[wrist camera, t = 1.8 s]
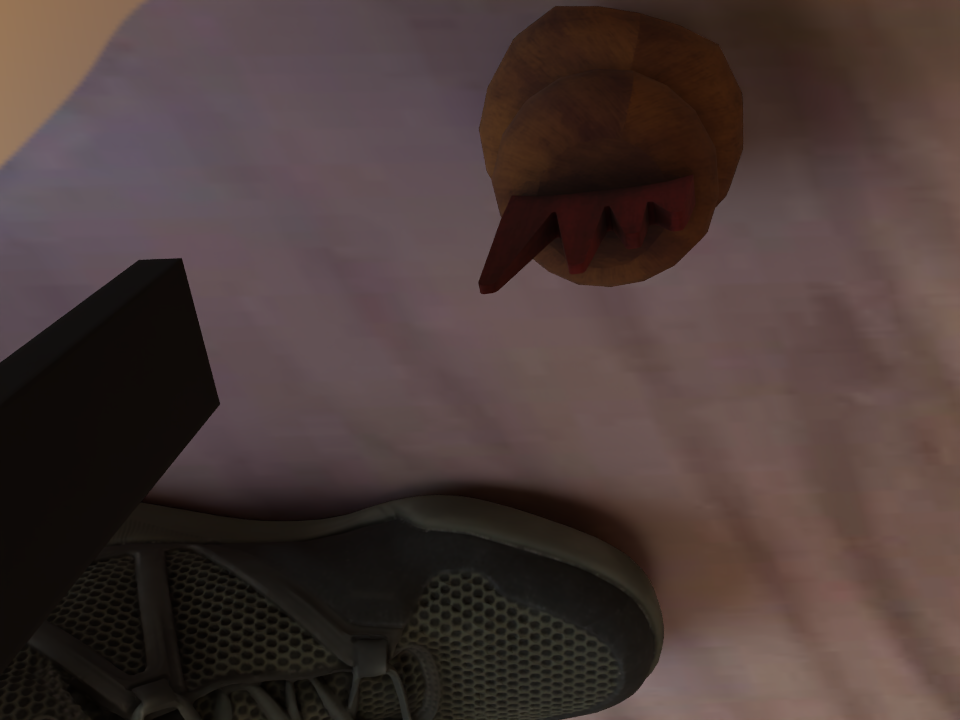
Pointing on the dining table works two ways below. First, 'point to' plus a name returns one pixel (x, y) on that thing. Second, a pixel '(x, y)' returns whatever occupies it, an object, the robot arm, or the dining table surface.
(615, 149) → the wooden figurine
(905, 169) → the dining table surface
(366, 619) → the sneaker
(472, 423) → the dining table surface
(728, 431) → the dining table surface
